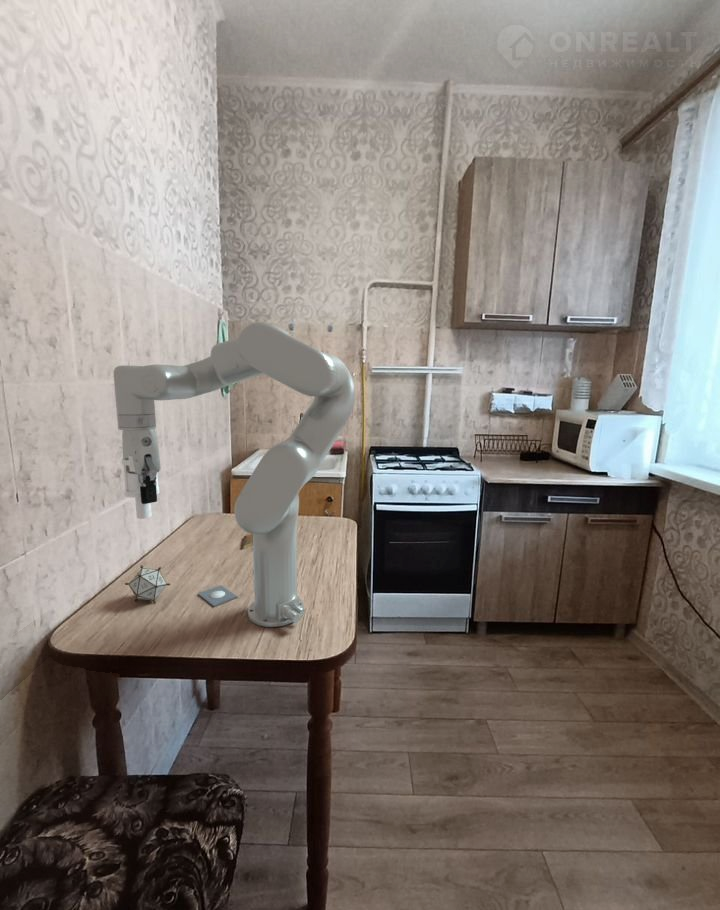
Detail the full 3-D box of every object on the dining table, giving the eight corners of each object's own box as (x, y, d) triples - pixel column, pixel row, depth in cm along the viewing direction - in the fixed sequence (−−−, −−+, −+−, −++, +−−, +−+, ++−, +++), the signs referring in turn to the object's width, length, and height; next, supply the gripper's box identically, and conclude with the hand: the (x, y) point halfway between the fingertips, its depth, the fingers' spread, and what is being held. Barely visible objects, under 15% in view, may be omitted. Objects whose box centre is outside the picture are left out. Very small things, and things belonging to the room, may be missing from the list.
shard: (242, 551, 129) (242, 545, 129) (227, 545, 134) (227, 540, 134) (269, 541, 138) (269, 536, 138) (254, 535, 142) (254, 530, 142)
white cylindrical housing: (120, 521, 92) (114, 455, 90) (136, 511, 99) (131, 450, 97) (152, 521, 92) (147, 455, 90) (166, 512, 99) (162, 450, 97)
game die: (143, 612, 100) (129, 574, 103) (178, 595, 103) (164, 558, 105) (129, 613, 92) (115, 572, 94) (168, 594, 94) (152, 554, 97)
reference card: (237, 597, 100) (237, 595, 100) (214, 607, 96) (213, 605, 96) (220, 586, 106) (220, 584, 106) (198, 594, 102) (198, 592, 101)
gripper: (170, 424, 89) (175, 504, 92) (140, 418, 100) (146, 489, 103) (132, 426, 83) (139, 511, 86) (106, 420, 95) (112, 495, 98)
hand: (143, 498), depth 95 cm, fingers closed on white cylindrical housing, 6 cm apart
